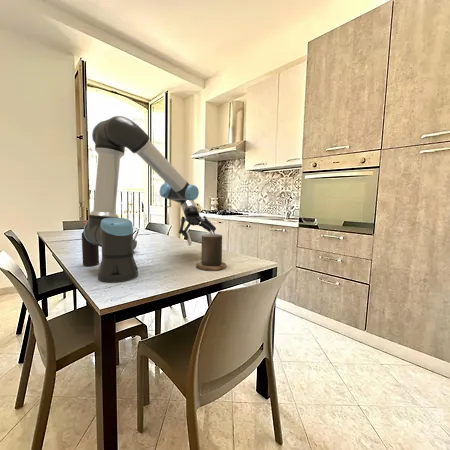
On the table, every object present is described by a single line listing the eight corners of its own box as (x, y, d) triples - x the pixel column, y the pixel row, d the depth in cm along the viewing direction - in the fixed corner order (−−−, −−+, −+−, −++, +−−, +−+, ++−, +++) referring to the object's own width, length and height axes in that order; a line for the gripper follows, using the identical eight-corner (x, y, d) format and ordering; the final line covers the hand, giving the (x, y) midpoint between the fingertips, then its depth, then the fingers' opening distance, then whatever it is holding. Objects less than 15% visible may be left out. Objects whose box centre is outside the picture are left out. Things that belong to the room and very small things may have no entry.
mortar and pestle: (140, 252, 150) (140, 231, 149) (129, 255, 141) (129, 233, 140) (124, 250, 154) (123, 230, 152) (113, 253, 145) (112, 232, 143)
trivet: (215, 272, 112) (215, 269, 112) (190, 267, 119) (190, 264, 119) (231, 265, 124) (231, 263, 124) (207, 261, 131) (207, 258, 131)
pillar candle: (221, 266, 116) (222, 233, 115) (199, 266, 117) (200, 233, 115) (222, 261, 126) (222, 231, 125) (202, 261, 126) (202, 230, 125)
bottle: (92, 267, 117) (90, 223, 115) (79, 265, 119) (77, 222, 116) (102, 263, 124) (100, 221, 122) (89, 262, 125) (88, 221, 123)
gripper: (208, 214, 148) (221, 245, 137) (166, 215, 134) (177, 249, 124) (213, 206, 143) (227, 236, 132) (170, 206, 129) (181, 240, 118)
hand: (203, 243), depth 128 cm, fingers open, 13 cm apart
